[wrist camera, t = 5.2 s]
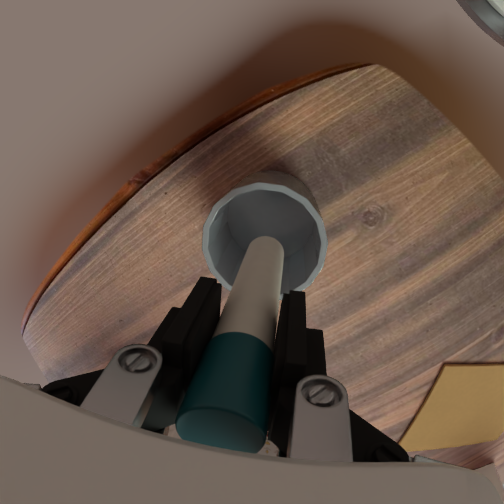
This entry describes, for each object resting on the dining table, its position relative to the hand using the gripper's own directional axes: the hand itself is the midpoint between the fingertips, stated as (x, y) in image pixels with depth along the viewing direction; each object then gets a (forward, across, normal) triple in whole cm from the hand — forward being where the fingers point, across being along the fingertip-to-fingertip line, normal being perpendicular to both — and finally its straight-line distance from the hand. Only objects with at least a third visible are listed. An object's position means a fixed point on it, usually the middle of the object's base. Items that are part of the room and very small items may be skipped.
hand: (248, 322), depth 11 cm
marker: (+7, 0, 0) cm, 7 cm away
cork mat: (+16, -31, +21) cm, 41 cm away
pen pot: (+16, 0, 0) cm, 16 cm away
